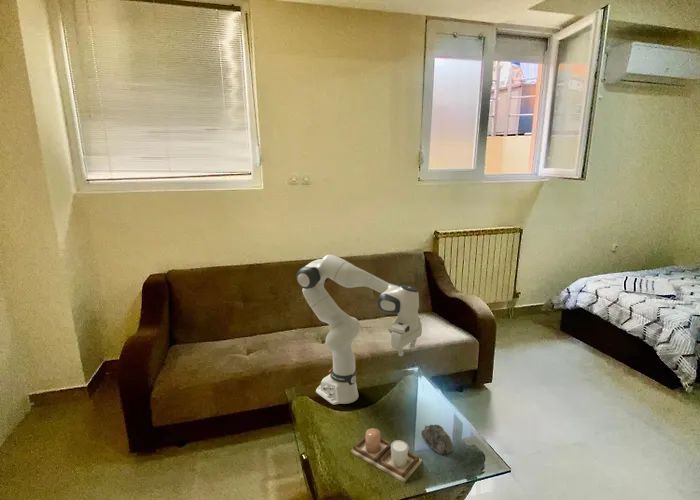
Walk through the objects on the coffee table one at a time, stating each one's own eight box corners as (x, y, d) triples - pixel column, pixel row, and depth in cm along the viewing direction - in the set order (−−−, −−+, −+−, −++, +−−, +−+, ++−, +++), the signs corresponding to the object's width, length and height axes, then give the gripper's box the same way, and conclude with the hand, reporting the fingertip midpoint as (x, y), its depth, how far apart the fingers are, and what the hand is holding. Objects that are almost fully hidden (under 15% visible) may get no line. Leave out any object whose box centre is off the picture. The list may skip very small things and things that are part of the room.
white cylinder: (408, 469, 148) (408, 453, 147) (389, 467, 149) (390, 451, 147) (408, 456, 155) (408, 440, 153) (390, 454, 156) (390, 439, 154)
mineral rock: (420, 435, 168) (420, 414, 166) (444, 433, 169) (445, 413, 167) (428, 456, 156) (428, 434, 154) (454, 455, 156) (455, 433, 154)
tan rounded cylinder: (362, 449, 159) (362, 433, 157) (371, 441, 163) (371, 426, 162) (374, 455, 155) (374, 440, 154) (383, 447, 160) (383, 432, 158)
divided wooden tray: (350, 452, 158) (350, 447, 158) (369, 435, 168) (369, 430, 168) (404, 482, 143) (404, 476, 142) (421, 462, 153) (421, 456, 152)
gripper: (413, 313, 180) (412, 341, 183) (388, 327, 165) (388, 357, 168) (425, 317, 176) (424, 345, 179) (401, 331, 161) (400, 362, 164)
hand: (406, 351), depth 173 cm, fingers open, 8 cm apart
